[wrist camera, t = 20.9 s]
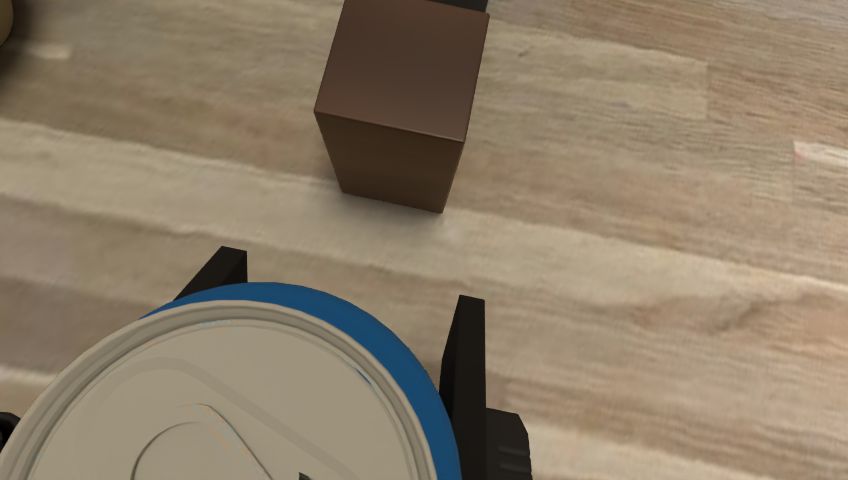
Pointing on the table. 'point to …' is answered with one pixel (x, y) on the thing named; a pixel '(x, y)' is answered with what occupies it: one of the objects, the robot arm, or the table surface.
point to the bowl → (5, 19)
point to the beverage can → (240, 398)
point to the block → (400, 97)
